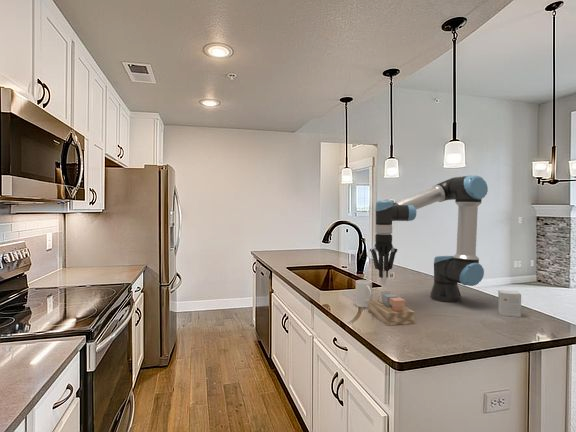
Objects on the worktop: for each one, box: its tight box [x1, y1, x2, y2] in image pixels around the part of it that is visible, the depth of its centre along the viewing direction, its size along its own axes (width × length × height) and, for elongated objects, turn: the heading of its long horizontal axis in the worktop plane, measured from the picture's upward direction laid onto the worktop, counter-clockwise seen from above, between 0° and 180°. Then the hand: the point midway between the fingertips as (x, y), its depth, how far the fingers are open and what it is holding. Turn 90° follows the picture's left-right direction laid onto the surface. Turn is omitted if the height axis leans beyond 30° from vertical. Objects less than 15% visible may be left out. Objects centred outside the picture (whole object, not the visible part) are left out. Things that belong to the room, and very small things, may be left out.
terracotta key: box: [389, 296, 406, 312], centre depth 151 cm, size 5×5×7 cm
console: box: [367, 299, 415, 326], centre depth 158 cm, size 12×20×5 cm, turn 10°
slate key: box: [383, 293, 399, 308], centre depth 158 cm, size 5×5×7 cm
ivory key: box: [376, 287, 392, 304], centre depth 164 cm, size 5×5×7 cm
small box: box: [497, 289, 522, 318], centre depth 161 cm, size 8×6×10 cm
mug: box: [354, 279, 373, 308], centre depth 176 cm, size 12×8×12 cm
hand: (383, 284), depth 164 cm, fingers closed
